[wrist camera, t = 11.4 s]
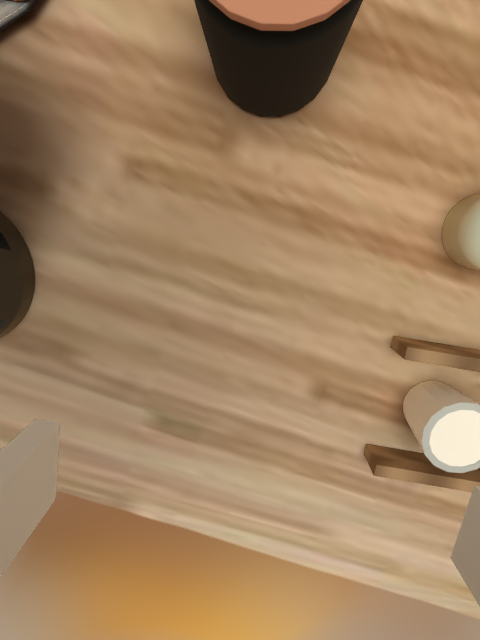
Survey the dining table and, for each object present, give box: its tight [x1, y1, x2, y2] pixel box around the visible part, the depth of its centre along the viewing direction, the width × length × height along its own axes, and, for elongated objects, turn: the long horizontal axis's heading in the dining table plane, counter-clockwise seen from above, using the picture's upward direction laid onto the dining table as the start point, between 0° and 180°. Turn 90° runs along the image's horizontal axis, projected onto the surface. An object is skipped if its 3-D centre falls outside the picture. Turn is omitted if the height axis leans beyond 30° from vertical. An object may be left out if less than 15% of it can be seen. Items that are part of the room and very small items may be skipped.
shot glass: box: [403, 381, 480, 473], centre depth 39 cm, size 7×7×7 cm
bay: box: [364, 336, 480, 492], centre depth 41 cm, size 13×13×4 cm
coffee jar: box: [194, 0, 363, 116], centre depth 28 cm, size 11×11×18 cm
